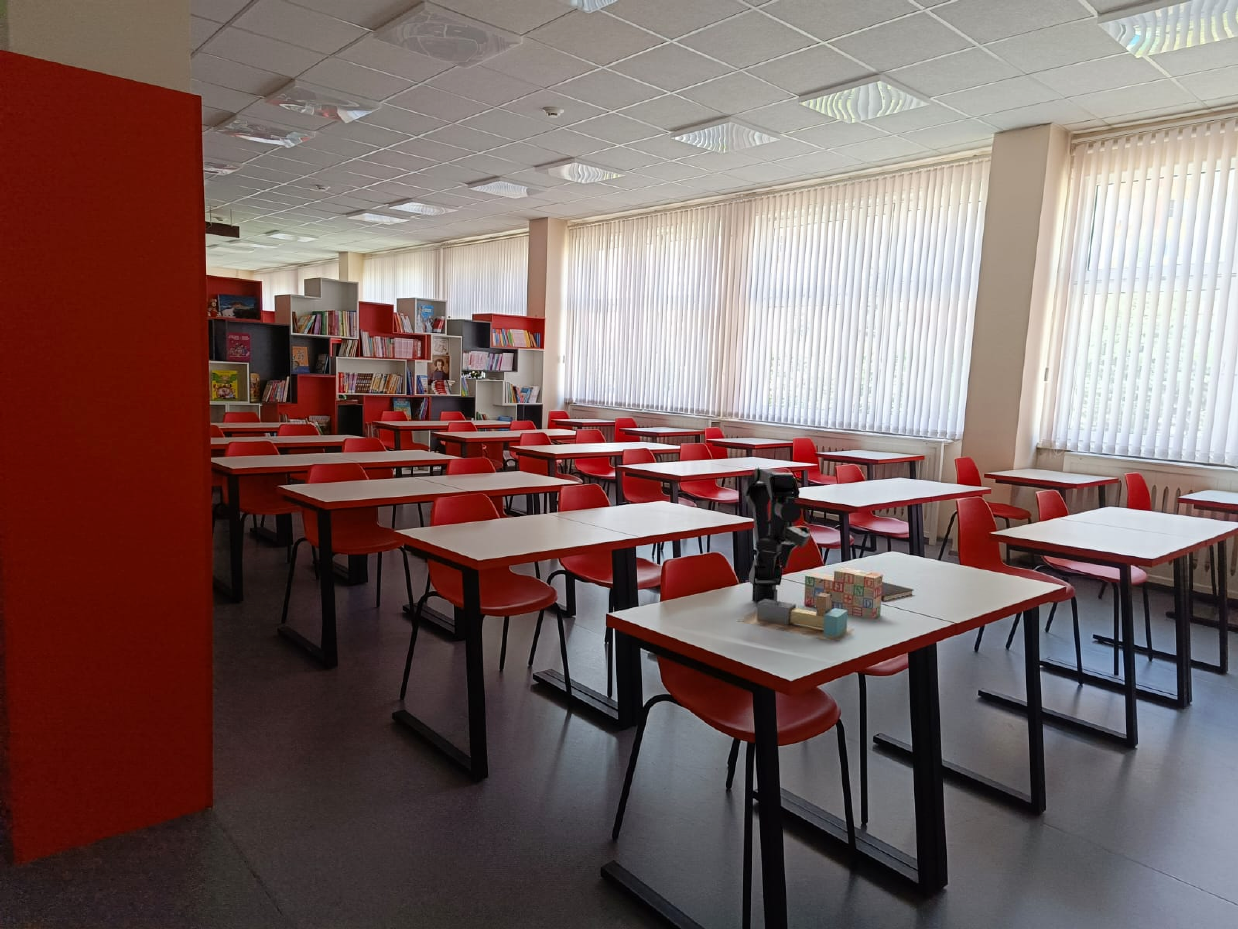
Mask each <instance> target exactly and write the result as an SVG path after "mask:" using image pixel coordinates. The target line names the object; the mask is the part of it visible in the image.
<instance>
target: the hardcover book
mask: <svg viewBox="0 0 1238 929" xmlns="http://www.w3.org/2000/svg"><path fill="white" fill-rule="evenodd" d="M913 591H915V589H913V588H909V587H905V586H900V585H896V584H892V583H888V582H884V581H882V595H881V600H883V601H882V602H885V601H884V600H886V599H891V600H893V599H892V598H895V599H897V598H896V597H900V596H904V597H907V596H906V595H909V594H912V595H913ZM909 596H910V595H909ZM900 598H901V597H900ZM886 601H887V600H886Z"/></svg>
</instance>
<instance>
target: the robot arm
mask: <svg viewBox="0 0 1238 929" xmlns="http://www.w3.org/2000/svg"><path fill="white" fill-rule="evenodd" d="M800 491H801V490H800V488H799V485H798V482H797V478H796V476H794V474H793V472H778V471H776V470H773V468H770V467H757V468H755V469H754V471H753V473H752V474H751V475H749V476H748V477H747V478H746V480H745V482H744V485H743V496H744V497H745V502H746V504H747V505H748V507H749V508H750V509H751V511H752V519H753V528H754V536H755V550H756V555H755V558H754V560H753V562H752V566H751V569H750V571H749V574H748V583H749V584H751V585H752V594H751V598H752V600H751V601H754V602H756V603H758V602H760V601H762V600H764V599H769V600H775V601H778V589H777V586H781V583H782V579H783V578H782V577H783V574H784V571H783V570H785V569H787V566H788V563H789V560H790V557H791V554H792V551H793V550H794V549H796V548H797V547H799V548H802V547H804V546H807V544H808V542H809V540H811V539H812V537H811V533H810V532H811V531H810V527H807V526H805V525H804V526H802V527H801V528H800V527H796V526H794V523H795V522H797V521H798V520H799V519H800V518H801V517H802V508H801V506H800V505H799V504H798V503H797V502H796V500H797V499H800V493H801V492H800ZM768 505H769V511H768Z"/></svg>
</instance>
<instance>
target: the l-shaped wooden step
mask: <svg viewBox="0 0 1238 929" xmlns="http://www.w3.org/2000/svg"><path fill="white" fill-rule="evenodd" d="M829 611H830V594H824V593H821V594H819V595H817V608H816V611H811V610H807V609H801V608H797V607H796V608H792V609H790V614H789V622H790V623H795V624H800V625H806V626H811V627H816V628H821V629H824V615H825V614H826V613H828V612H829Z"/></svg>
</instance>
